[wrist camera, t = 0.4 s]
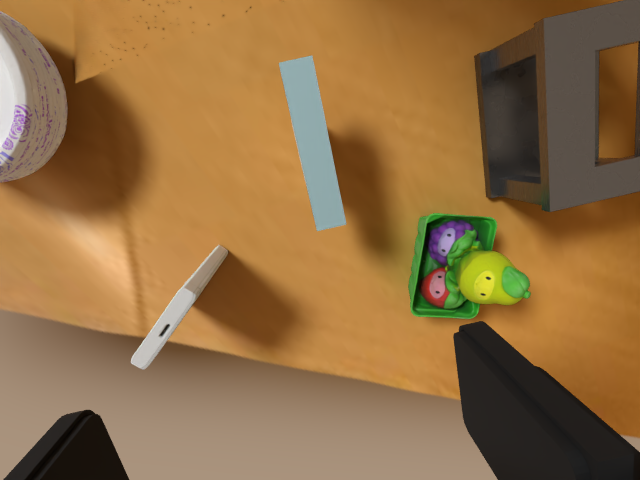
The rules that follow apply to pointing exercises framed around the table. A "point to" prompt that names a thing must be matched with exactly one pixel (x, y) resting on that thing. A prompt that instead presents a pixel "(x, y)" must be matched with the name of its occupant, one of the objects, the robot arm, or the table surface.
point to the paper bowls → (28, 102)
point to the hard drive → (178, 309)
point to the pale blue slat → (313, 141)
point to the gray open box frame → (554, 110)
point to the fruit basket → (460, 268)
